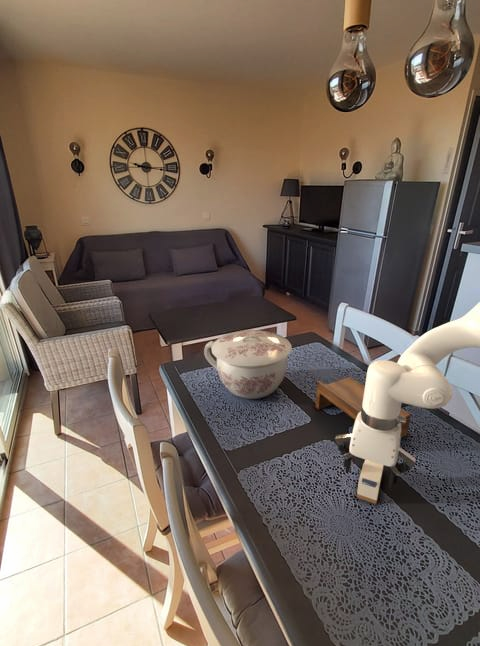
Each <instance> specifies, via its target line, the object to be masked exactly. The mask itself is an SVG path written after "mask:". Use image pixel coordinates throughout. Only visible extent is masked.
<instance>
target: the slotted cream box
mask: <svg viewBox="0 0 480 646" xmlns="http://www.w3.org/2000/svg"><path fill="white" fill-rule="evenodd" d="M384 466H385V465H382V464H378V463H375V462H372V461H368V460H365V459H364V462H363V463H362V467H361V470H360V475H359V477H358V484H357V491H356V498H357V499H360V500H363V501H366V502H369V503H372V504H374V505H376V504H377V502H378V497H379V493H380V489H381V482H382V479H383V478H382V477H383V472H384Z"/></svg>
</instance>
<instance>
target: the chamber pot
mask: <svg viewBox="0 0 480 646" xmlns="http://www.w3.org/2000/svg"><path fill="white" fill-rule="evenodd" d="M292 347H293V346H292V344H291V342H290V341H289V340H288V339H287V338H286V337H284V336H283V335H280V334H278V333H275V332H273V331H268V330H258V329H248V330H238V331H235V332H234V331H233V332H230V333H229V332H228V333H227V334H224V335H222V336H220V337H219V338H217V339H216V340H214V341H213V340H210V341H208V342H207V343H206V344H205V346H204V348H203V349H204V350H203V355H204V357H205V359H206V361H207V362H208V363H209V364H210V365H211V366H212V367H213V368H215V370H217V374H218V377H219V380H220V382H221V383H222V384H223V385H224V386H225V388H226V389H227V390H228V391H229V393H231V394H233V395H234V396H236V397H238V398H242V399H246V400H247V399H249V400H255V399H256V400H257V399H263V398H266V397H268V396H270V395H271V394H273V393H274V392H275V391H276V390H277V389H278V387H279V386H280V385H281V384H282V382H283V381H284V379H285V377H286V372H287V368H288V367H287V366H288V356H289V355H290V354H291V353H292V350H293V349H292ZM210 349H211V351H210ZM211 353H212V355H213V356H214V357H215V358H216V360H215V359H214V358H213V356H212V355H211Z"/></svg>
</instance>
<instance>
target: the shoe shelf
mask: <svg viewBox="0 0 480 646" xmlns="http://www.w3.org/2000/svg"><path fill="white" fill-rule="evenodd" d="M364 390H365V385H364V384H363V383H361V382H360V381H358V380H356V379H355V378H353V377H352V376H347V377H345V378H341V379H339V380H336V381H333V382H330V383H328V384H326V383H324V382H323V381H321V380H318V381H317V382H316V392H315V394H316V396H315V408H316V409H317V410H321V409H324V408H326V407H329V406H332V405H335V407H337V408H339V409H340V410H341V411H342V412H344V413H345V414H347V415H348V416H349V417H351V418H352V419H353V420H354V421H355V420H356V417H357V415H358V413H359V412H361V410H362V403H363V397H364ZM400 414H401V416H403V417H405V418H406V423H405V424H403V423H401V439H402V438H405V437H406V436H408V434H409V433H408V432H409V427H410V422H411V416H412V414H411V413H410V412H408V411H406V410H405V409H403V408H401V409H400Z"/></svg>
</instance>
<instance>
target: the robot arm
mask: <svg viewBox="0 0 480 646" xmlns="http://www.w3.org/2000/svg"><path fill="white" fill-rule="evenodd" d="M469 348H475V349H478V348H479V349H480V301H478V303H476V305H474V306H473V307H472V308H471V309H470V310H469V311H468V312H466V313H465V314H464V315H462V317H459V318H457V319H454V320H451V321H448V322H446V323H443V324H441V325H439V326H437V327H434V328H431V329H430V330H428V331H426V332H425V333H423V334H422V335H421V336H419V337H418V338H417V339H416V340H415V341H414V342H413V343H412V344H411V345H410V346H408V347H407V349H405V351H404V352H403V353H402V354H401V355H400V357H399V358H398V360H397V362H395V361H392V360H388V359H379V360H375V361H372V362H371V363H370V364H369V366H367V371H366V377H365V383H364V384H365V385H364V386H365V390H364V397H363V403H362V410H361V412H359V413H358V415H357V417H356V420H355V419H354V424H353V428H352V433H344V434H336V435H335V437H334V443H335V444H336V447H337V450H338V451H339V453H341V454H342V458H343V467H344V468H345V471H344V472H345V474H350V469H351V466H352V462H353V461H352V460H353V457H357V458H360V459H363V460H364V461H365V460H368V461H372V462H375V463H378V464H382V465H384V466H385V467H389V468H390V470H391V472H390V477H389V482H388V487H389V488H390V489H393V485H394V484H397V482H398V478H399V476H400V475H401V474H402V473H405V472H409V470H410V469H412V467H414V466H415V465H416V463H417V462H416V461H417V459H416V458H415V457H414V456H413V455H411V454H410V453H409V452H407V451H406V450H404V448H402V447H401V440H402V438H401V423H403V424H405V423H406V418H405V417H403V416H401V414H400V409H402V404H405V405H410V406H414V407H417V408H423V409H428V410H429V409H430V410H431V409H441V408H443V407H444V406H446V405H448V404H449V403H450V402H451V400H452V397H453V388H452V385H451V383H450V382H449V380H448V379H447V378H446V377H445V374H443V372H441V371H442V370H440V368H438V366H437V365H438V364H439V363H440V362H441V361H443V360H444V359H445V358H447V357H448V356H449V355H451V354H452V353H455V352H456V351H459V350H463V349H469ZM348 442H349V446H347V445H346V444H345V443H348ZM399 457H400V458H401V459H403V460H404V461H403V462H400V461H399V460H398V458H399Z"/></svg>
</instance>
